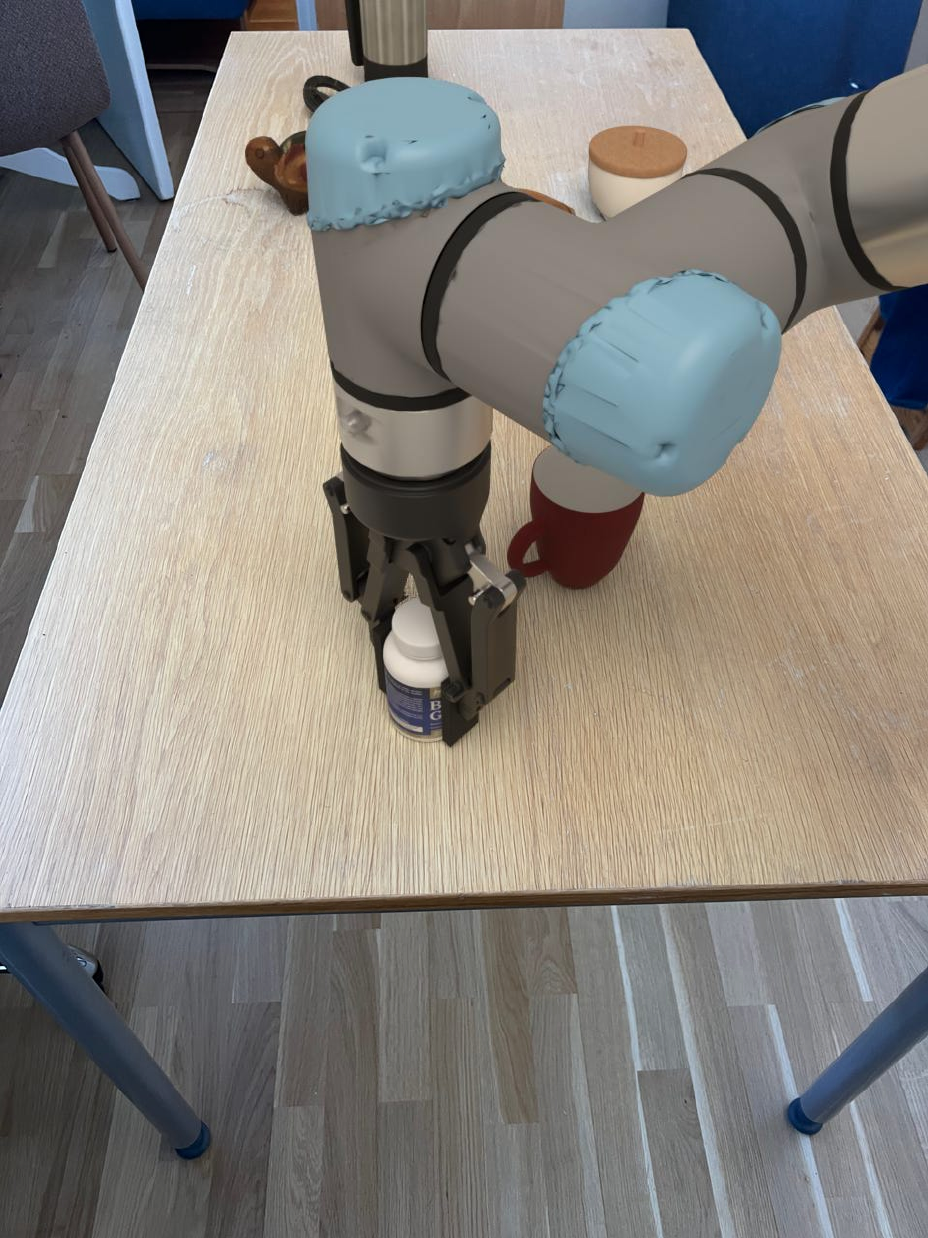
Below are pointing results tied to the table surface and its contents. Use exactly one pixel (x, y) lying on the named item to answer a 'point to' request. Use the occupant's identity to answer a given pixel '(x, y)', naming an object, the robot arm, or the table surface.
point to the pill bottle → (414, 673)
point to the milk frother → (380, 44)
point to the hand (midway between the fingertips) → (427, 704)
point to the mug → (575, 521)
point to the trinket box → (632, 166)
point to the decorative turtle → (282, 167)
